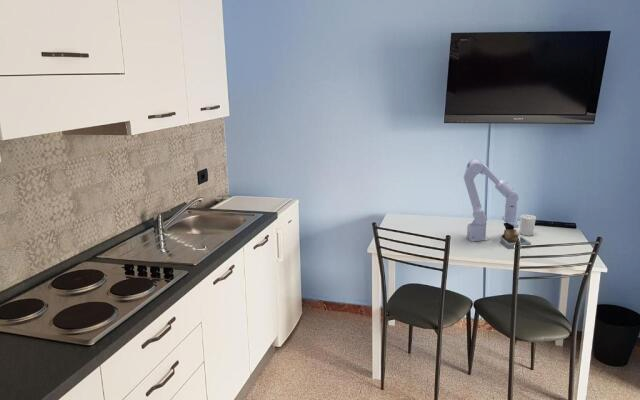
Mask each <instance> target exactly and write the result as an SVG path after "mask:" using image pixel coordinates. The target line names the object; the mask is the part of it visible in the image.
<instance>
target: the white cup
mask: <svg viewBox="0 0 640 400" xmlns="http://www.w3.org/2000/svg"><path fill="white" fill-rule="evenodd" d="M536 221H537V217H536V216H535V215H532V214H521V215H520V221H519V229H520V231H519V234H520V235H522V236H532V235H534V230H535V224H536Z"/></svg>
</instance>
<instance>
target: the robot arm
mask: <svg viewBox="0 0 640 400" xmlns="http://www.w3.org/2000/svg"><path fill="white" fill-rule="evenodd" d="M479 174H481V175H485V176H487V177H488V178H489V180H490V181H491V182H493V184H495V189H496V190H497V191H498V192H499V193H500V194H501V195H502V196H503V197H505V198H506V199H505V205H504V207H505V209H504V215H502V221H503V222H504V223H503V227H504V230H508V229H518V228H519V223H518V221H519V220H518V219H517V210H518V209H517V208H518V204H517V203H518V201H519V195H518V193H517V192H516V190H515V189H514V188H513V187H511V186H510V185H509V182H508V180H504V179H500V178H498V177H497V176H496V174H495V173H494V172H493V171H492V170H491V168H489V166H487V165H486V164H485V163H483V162H482V161H480V160H479V159H478V158H473V159H470V160H469V162H468V163H467V165H466V169H465V171H464V174H463V179H464V183H465V184H464V185H465V187H466V190H467V193H468V196H469V201H470V202H471V204H470V205H471V206H472V211H473V212H472V216H473V220H472V222H471V223H468V224H467V227H466V229H467V230H466V238H467V239H469V240H470V241H471V242H481V241H484V242H485V241H489V239H488V238H487V236H486V235H487V234H486V233H487V221H488V216H487V215H486V214H485V211H484V210H483V208H482V204H481V200H480V197H479V193H478V191H477V188H476V183H475V178H476V177H477V175H479Z"/></svg>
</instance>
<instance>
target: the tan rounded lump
mask: <svg viewBox="0 0 640 400" xmlns="http://www.w3.org/2000/svg"><path fill="white" fill-rule="evenodd" d="M519 236H520V233H519V232H518V231H517V228H514V229H508V230H506V229H504V230H503V234H501V238H503V239H504V240H506V241H507V242H508V243H509V242H510V243H514V242H520V238H519Z"/></svg>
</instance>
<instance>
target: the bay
mask: <svg viewBox="0 0 640 400" xmlns="http://www.w3.org/2000/svg"><path fill="white" fill-rule="evenodd" d="M499 241H500V244H502V245H503V246H504V247H505V248H507V249H509V250H512V249H514V245H515V243H516V242H515V243H514V242H511V243H509V242H507V241H506V240H504V238H502V237H501V238H500V239H499ZM520 241H521V242H520ZM519 242H520V243H521V245H532V243H531V242H530V241H528V240H527V239H526V238H525V237H523V236H520V238H519ZM514 250H515V249H514Z"/></svg>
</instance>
